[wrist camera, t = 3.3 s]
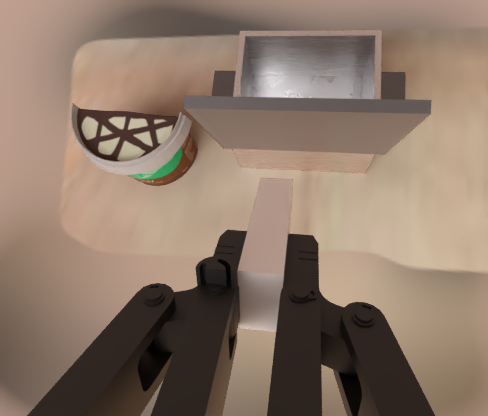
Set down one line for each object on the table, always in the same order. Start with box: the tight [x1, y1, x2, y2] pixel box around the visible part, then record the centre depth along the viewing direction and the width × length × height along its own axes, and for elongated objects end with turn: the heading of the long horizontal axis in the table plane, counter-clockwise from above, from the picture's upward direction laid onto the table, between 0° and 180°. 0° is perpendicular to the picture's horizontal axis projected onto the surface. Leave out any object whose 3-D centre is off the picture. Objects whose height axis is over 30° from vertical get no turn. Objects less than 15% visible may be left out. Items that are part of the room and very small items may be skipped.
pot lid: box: [184, 96, 431, 154], centre depth 29 cm, size 15×12×1 cm
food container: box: [71, 103, 197, 186], centre depth 42 cm, size 12×6×10 cm, turn 81°
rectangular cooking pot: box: [212, 30, 405, 173], centre depth 41 cm, size 19×12×8 cm, turn 85°
